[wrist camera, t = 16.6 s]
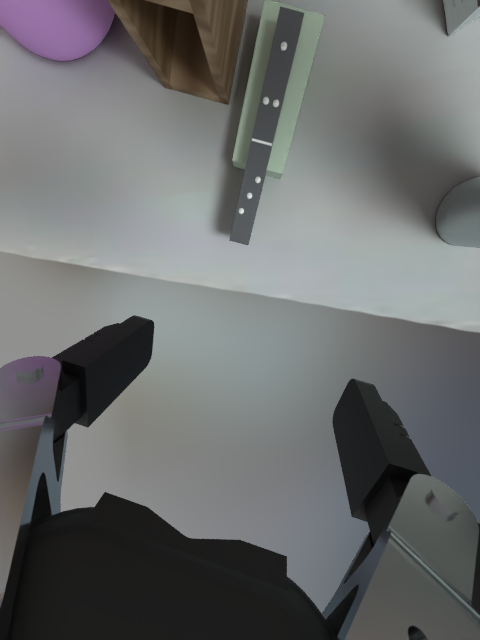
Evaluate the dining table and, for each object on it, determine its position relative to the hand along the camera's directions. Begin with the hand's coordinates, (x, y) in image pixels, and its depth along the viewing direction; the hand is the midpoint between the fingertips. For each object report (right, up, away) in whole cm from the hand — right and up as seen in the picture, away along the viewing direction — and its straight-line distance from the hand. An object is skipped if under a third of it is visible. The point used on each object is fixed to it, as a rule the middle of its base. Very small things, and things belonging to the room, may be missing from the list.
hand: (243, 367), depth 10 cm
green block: (+4, +31, +24) cm, 39 cm away
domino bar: (+3, +24, +23) cm, 33 cm away
